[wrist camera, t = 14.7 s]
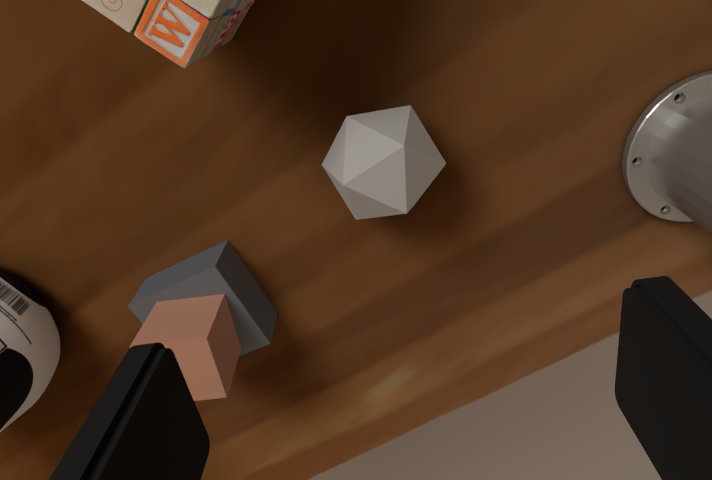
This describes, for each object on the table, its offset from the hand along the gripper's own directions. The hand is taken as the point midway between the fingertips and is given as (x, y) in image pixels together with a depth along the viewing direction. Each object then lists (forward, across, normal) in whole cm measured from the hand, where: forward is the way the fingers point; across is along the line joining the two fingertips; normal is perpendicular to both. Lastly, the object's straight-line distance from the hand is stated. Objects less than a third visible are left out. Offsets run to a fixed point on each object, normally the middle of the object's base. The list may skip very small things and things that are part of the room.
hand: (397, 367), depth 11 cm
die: (+34, 0, +6) cm, 34 cm away
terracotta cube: (+28, +18, +18) cm, 38 cm away
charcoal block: (+34, +18, +18) cm, 42 cm away
